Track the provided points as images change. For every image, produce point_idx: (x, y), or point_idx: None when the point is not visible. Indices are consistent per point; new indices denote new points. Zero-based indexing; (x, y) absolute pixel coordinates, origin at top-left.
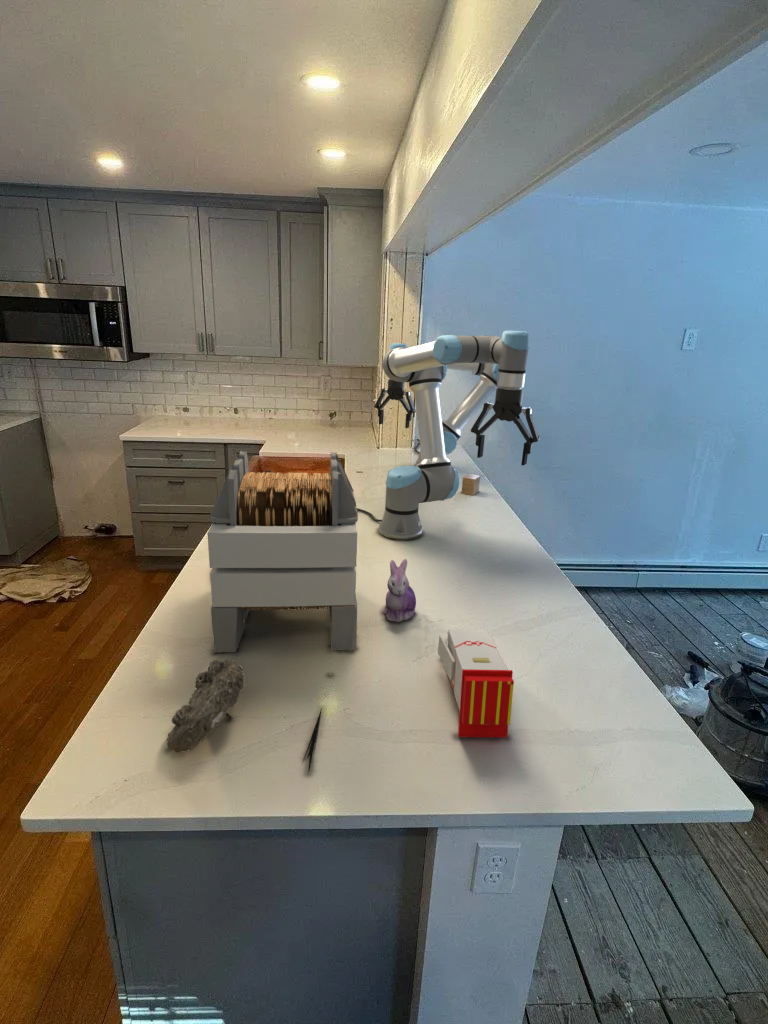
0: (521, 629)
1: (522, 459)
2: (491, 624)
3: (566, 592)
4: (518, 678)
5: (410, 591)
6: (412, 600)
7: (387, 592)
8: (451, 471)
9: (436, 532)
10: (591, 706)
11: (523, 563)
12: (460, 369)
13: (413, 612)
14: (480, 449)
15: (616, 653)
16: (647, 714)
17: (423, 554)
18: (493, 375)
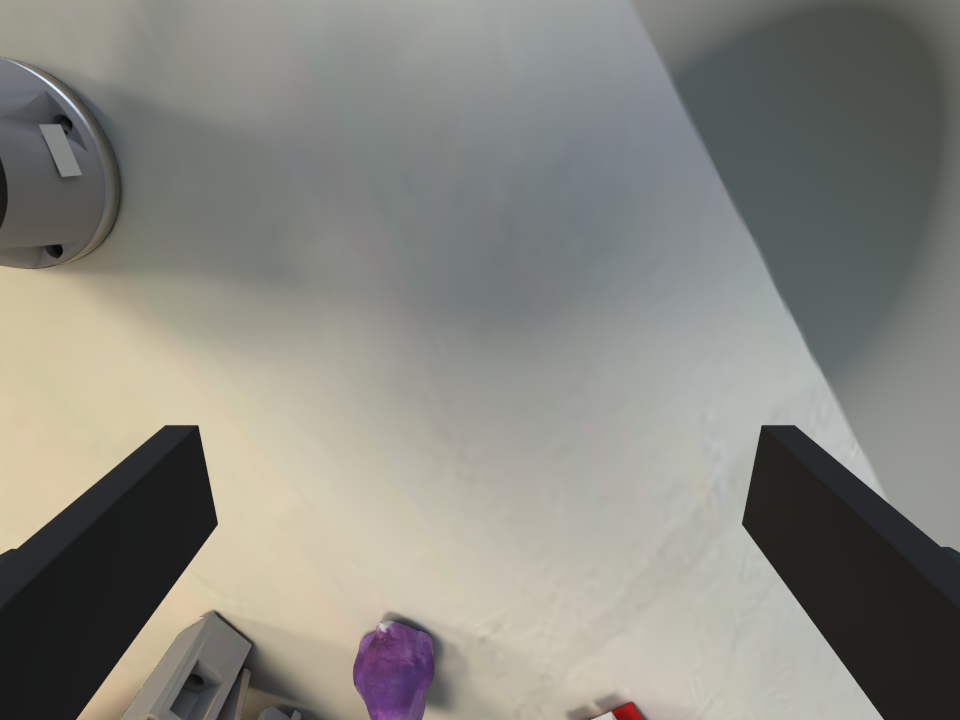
0: (680, 569)
1: (784, 572)
2: (608, 585)
3: (775, 313)
4: (707, 710)
5: (413, 694)
6: (428, 686)
7: (355, 686)
8: None
9: (134, 55)
10: (840, 714)
11: (593, 162)
12: None
13: (432, 648)
14: (158, 599)
15: None
16: None
17: (242, 318)
18: None
